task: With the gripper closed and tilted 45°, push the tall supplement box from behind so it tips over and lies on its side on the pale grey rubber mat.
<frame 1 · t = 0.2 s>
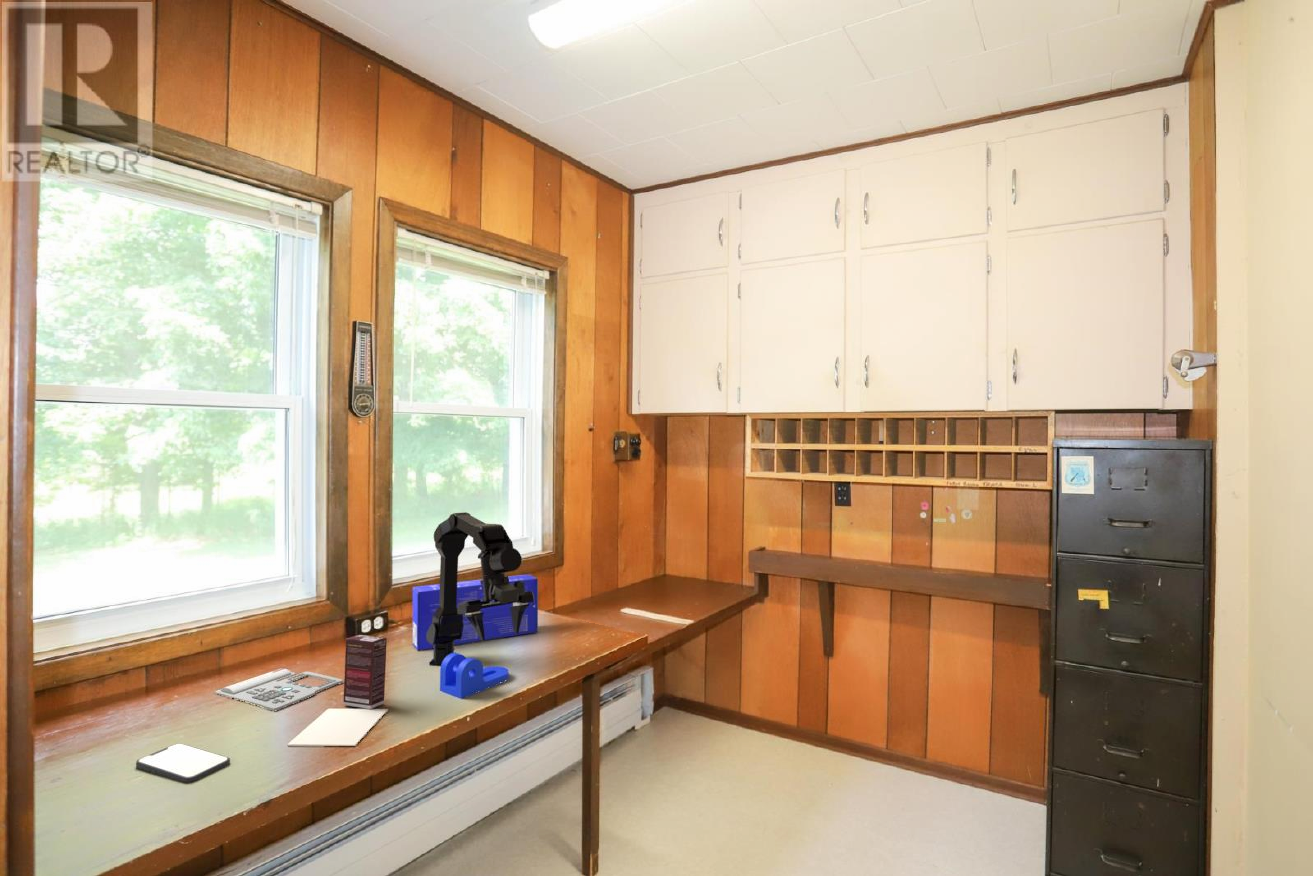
hand: (500, 637, 164), 15 cm above the table, tool pointing down, fingers open, 9 cm apart
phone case: (183, 768, 129), on the table
supplement box: (363, 705, 159), on the table, touching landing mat
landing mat: (340, 727, 147), on the table
office telephone: (281, 691, 168), on the table
bracket: (478, 685, 173), on the table
toner cartridge box: (476, 639, 212), on the table
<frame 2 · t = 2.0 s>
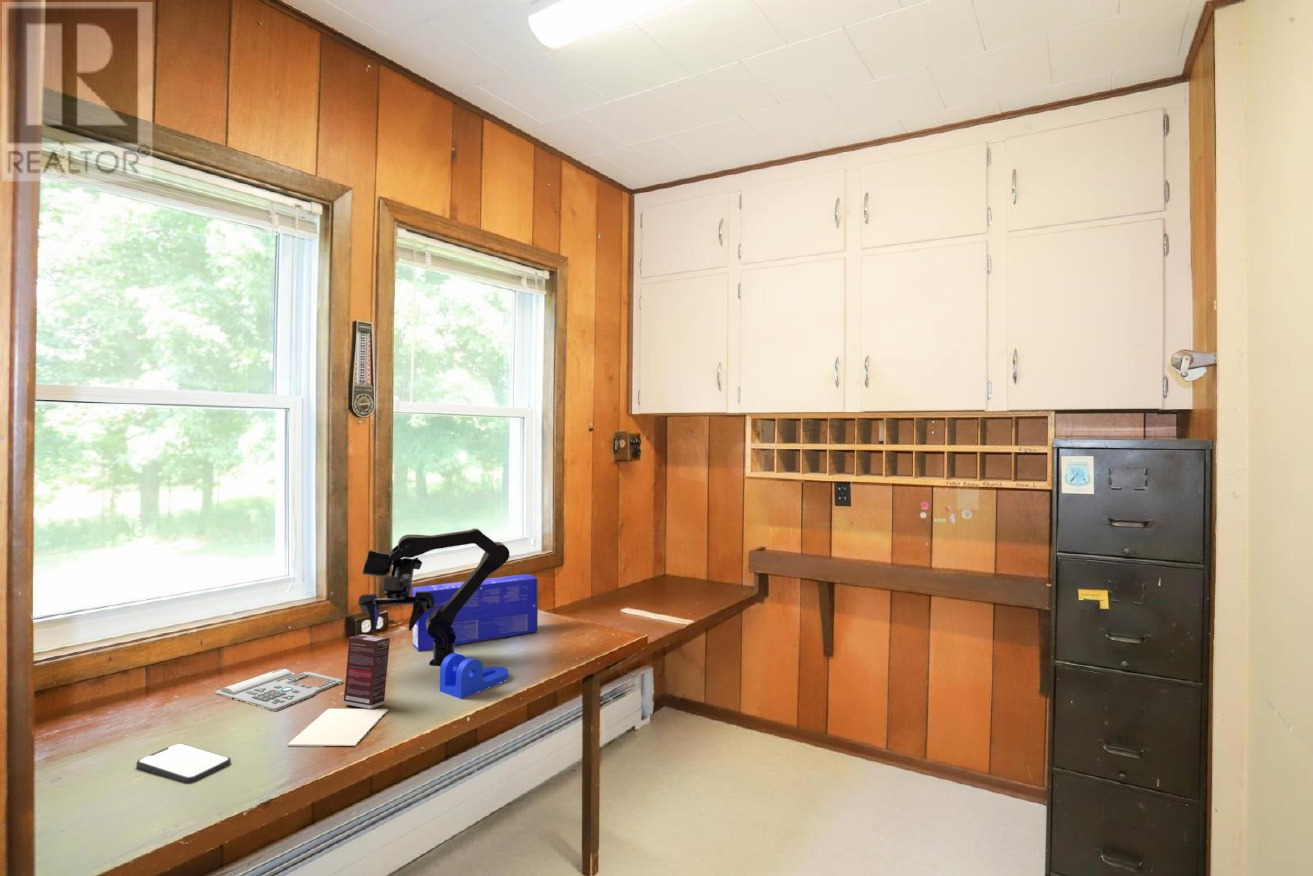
hand: (391, 631, 173), 14 cm above the table, tool tilted 40°, fingers open, 9 cm apart
nothing on the table moved.
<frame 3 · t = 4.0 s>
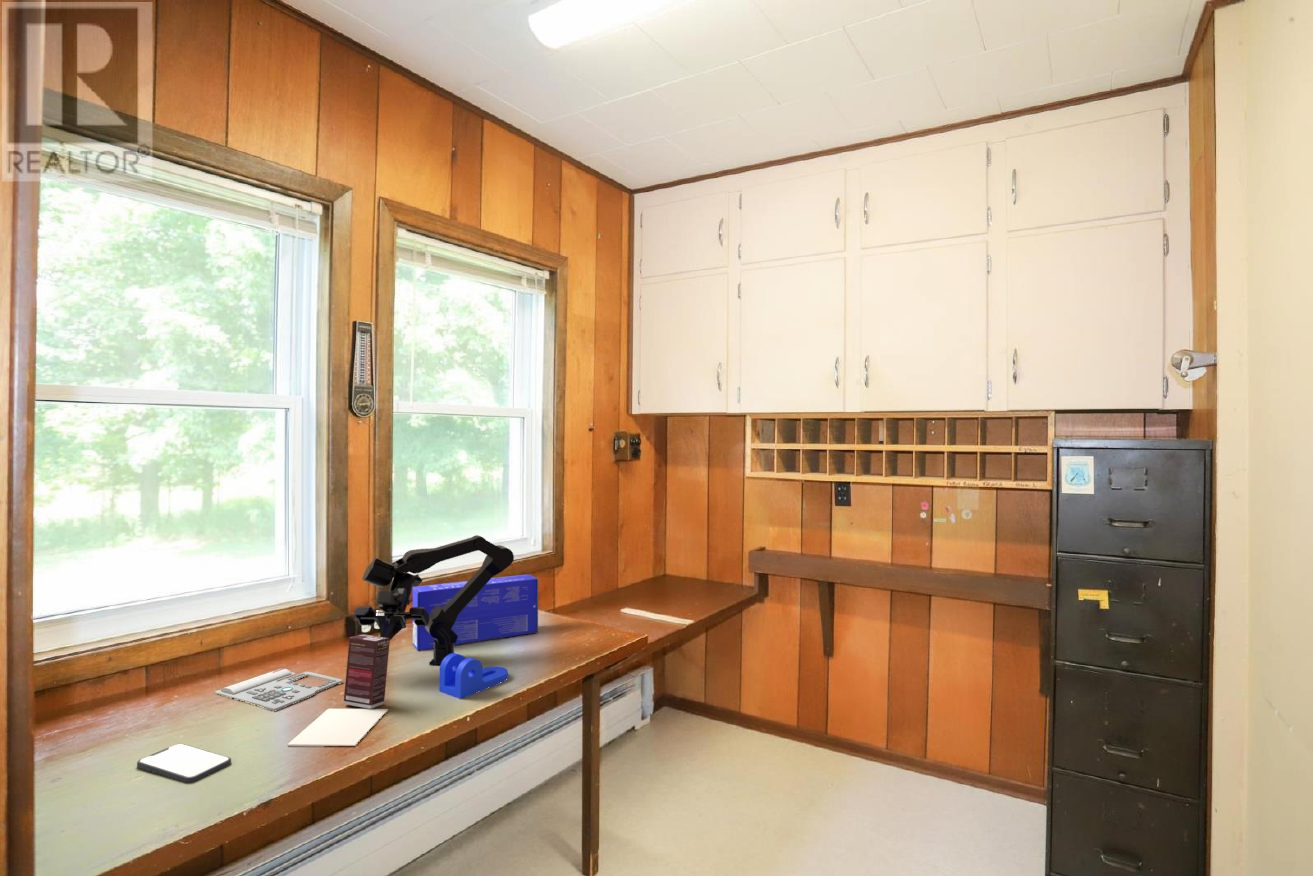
hand: (382, 645, 171), 11 cm above the table, tool tilted 45°, fingers closed
nothing on the table moved.
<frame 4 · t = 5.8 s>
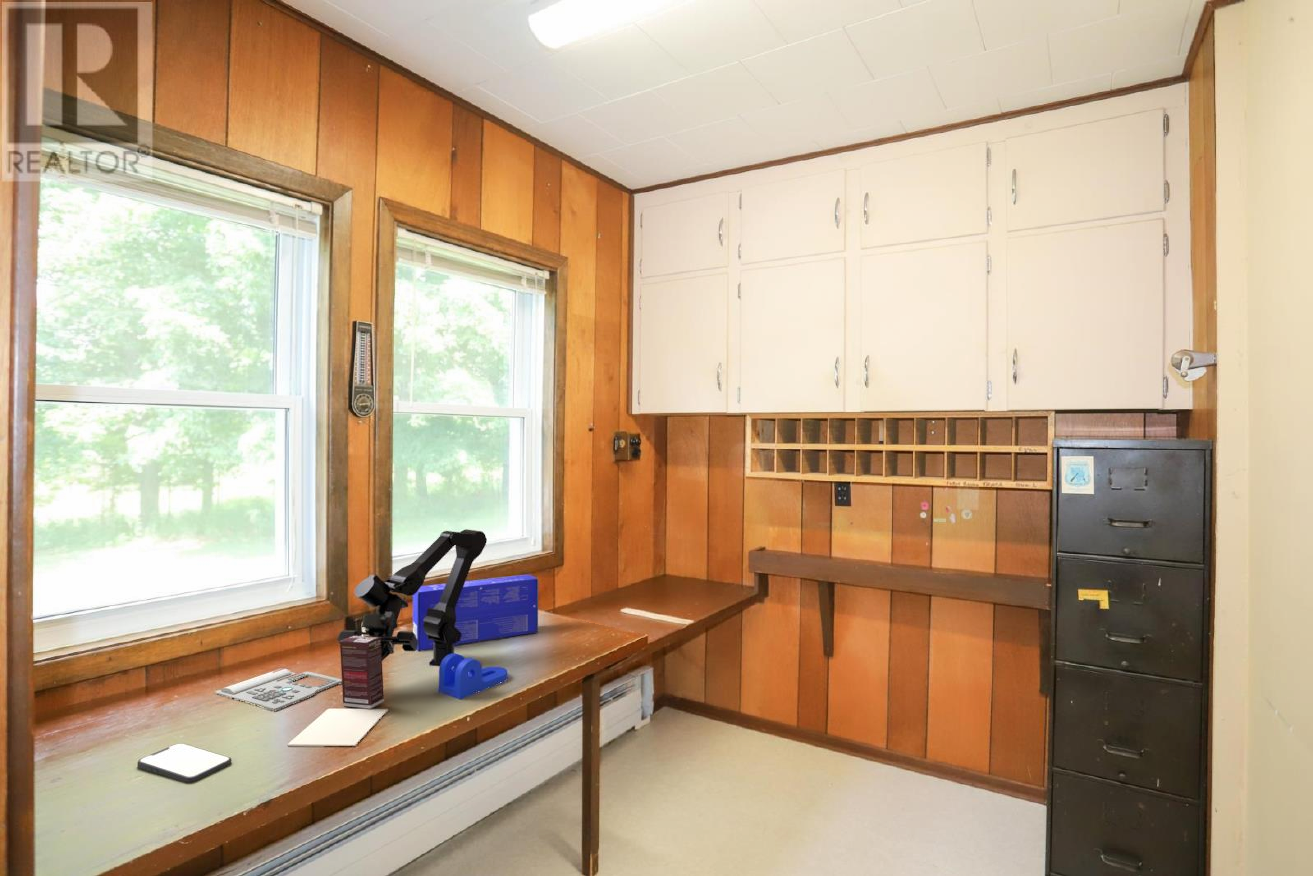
hand: (367, 672, 161), 7 cm above the table, tool tilted 45°, fingers closed
supplement box: (363, 704, 159), on the table, touching gripper, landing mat
everything else where it was.
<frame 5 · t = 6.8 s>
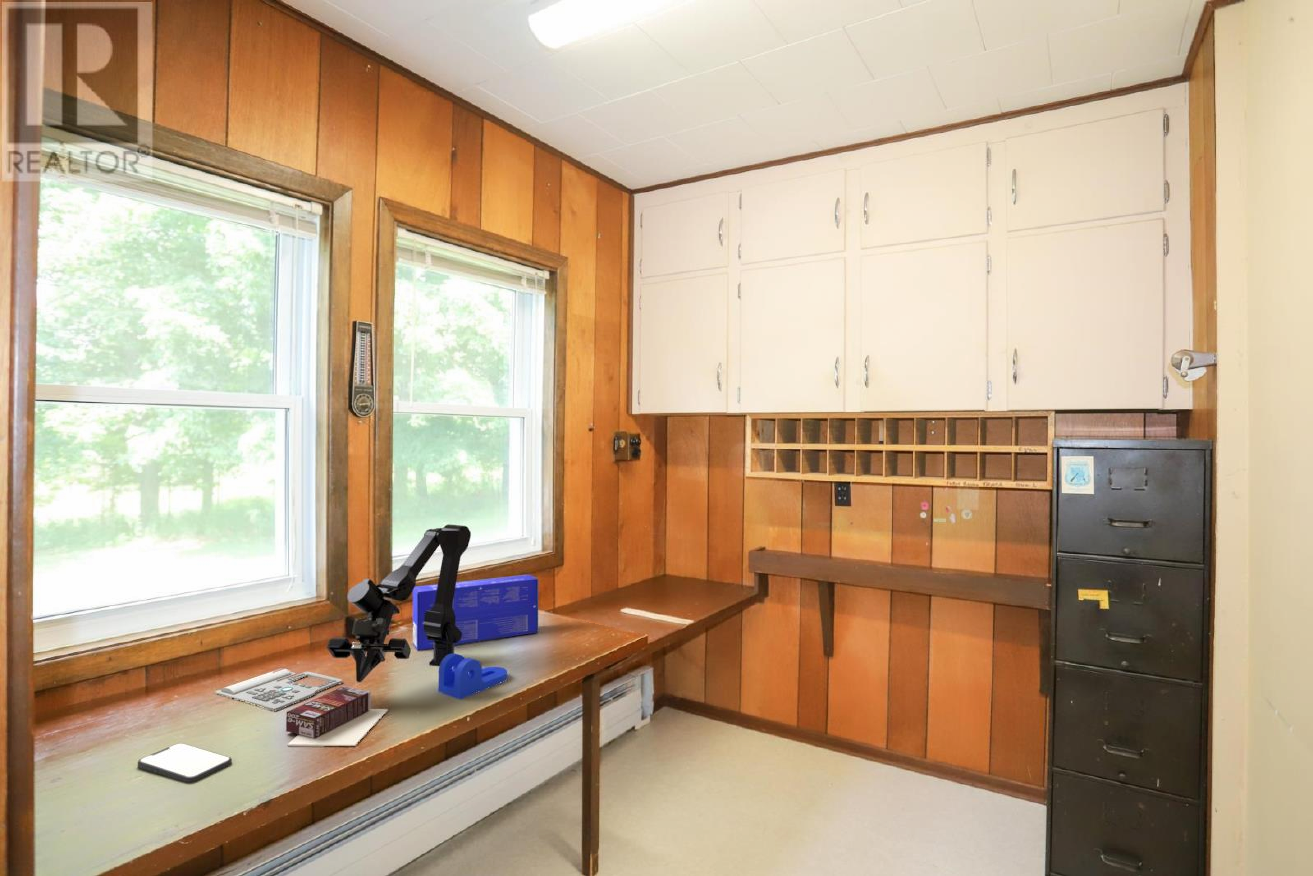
hand: (358, 681, 156), 7 cm above the table, tool tilted 45°, fingers closed
supplement box: (357, 697, 156), point 3 cm above the table, touching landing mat
everything else where it was.
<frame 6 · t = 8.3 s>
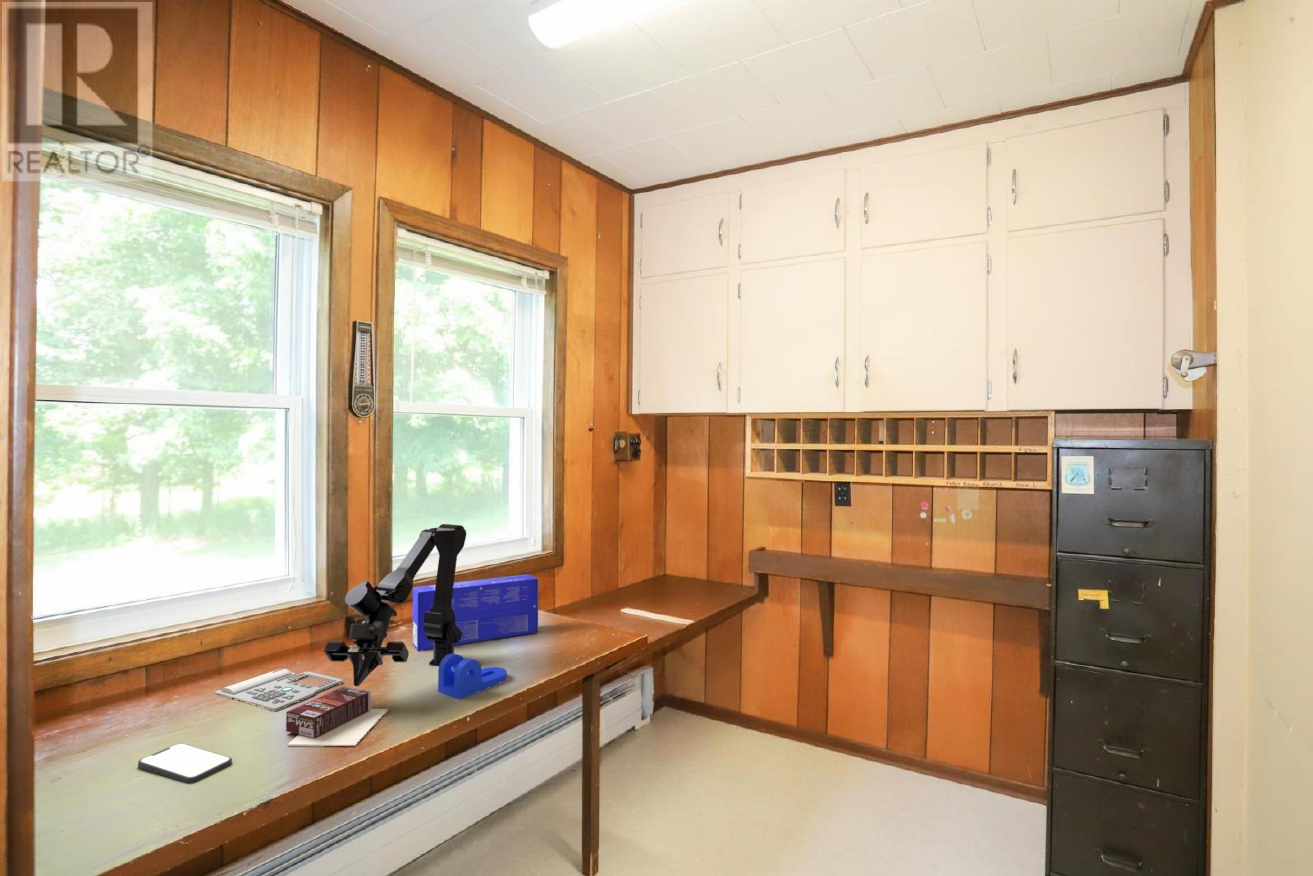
hand: (356, 685, 154), 6 cm above the table, tool tilted 45°, fingers closed
nothing on the table moved.
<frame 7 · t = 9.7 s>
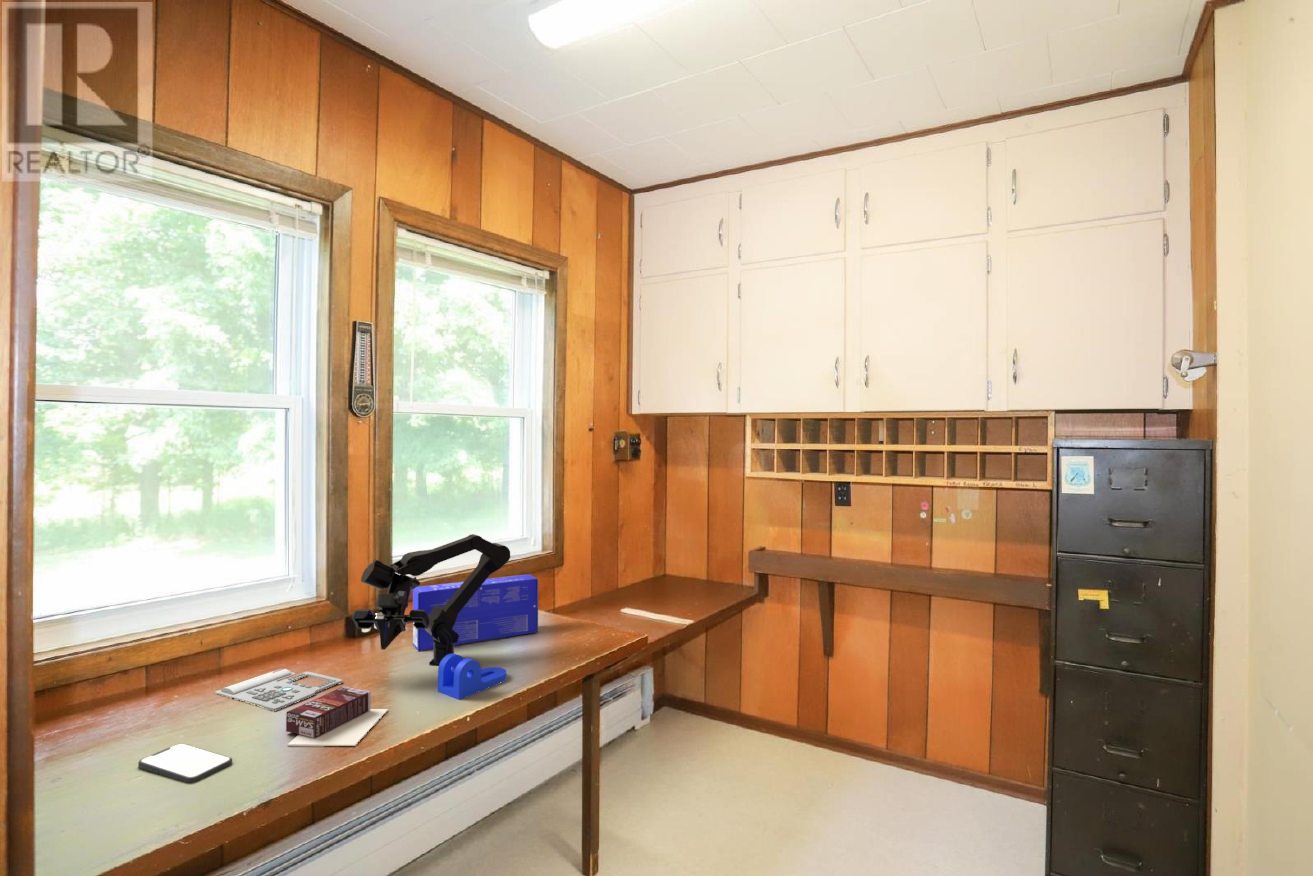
hand: (382, 649, 169), 10 cm above the table, tool tilted 45°, fingers closed
nothing on the table moved.
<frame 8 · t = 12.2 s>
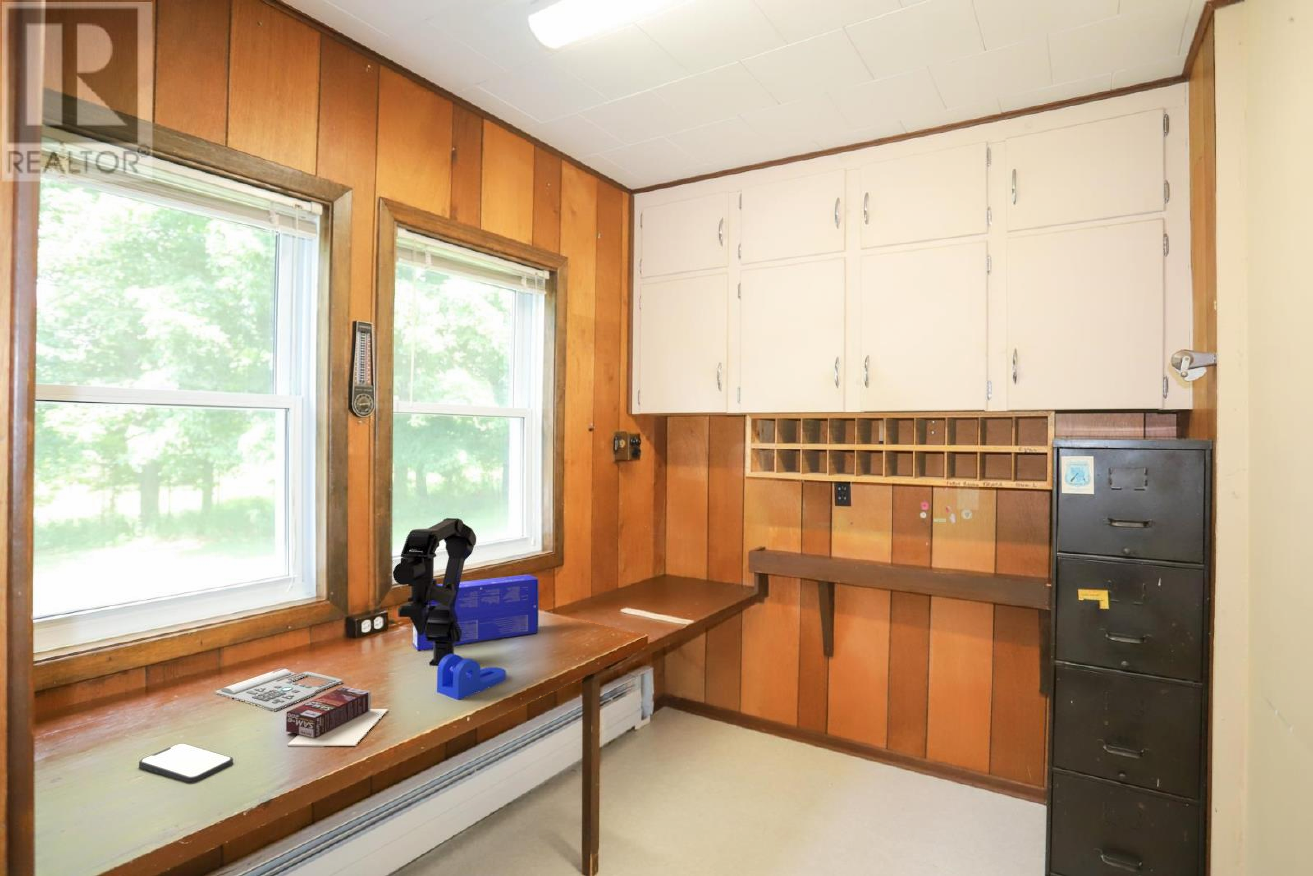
hand: (421, 634, 176), 12 cm above the table, tool pointing down, fingers closed
nothing on the table moved.
at the end: supplement box tilted 91°; supplement box 9.8 cm from the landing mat (horizontally); the gripper is holding nothing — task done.
